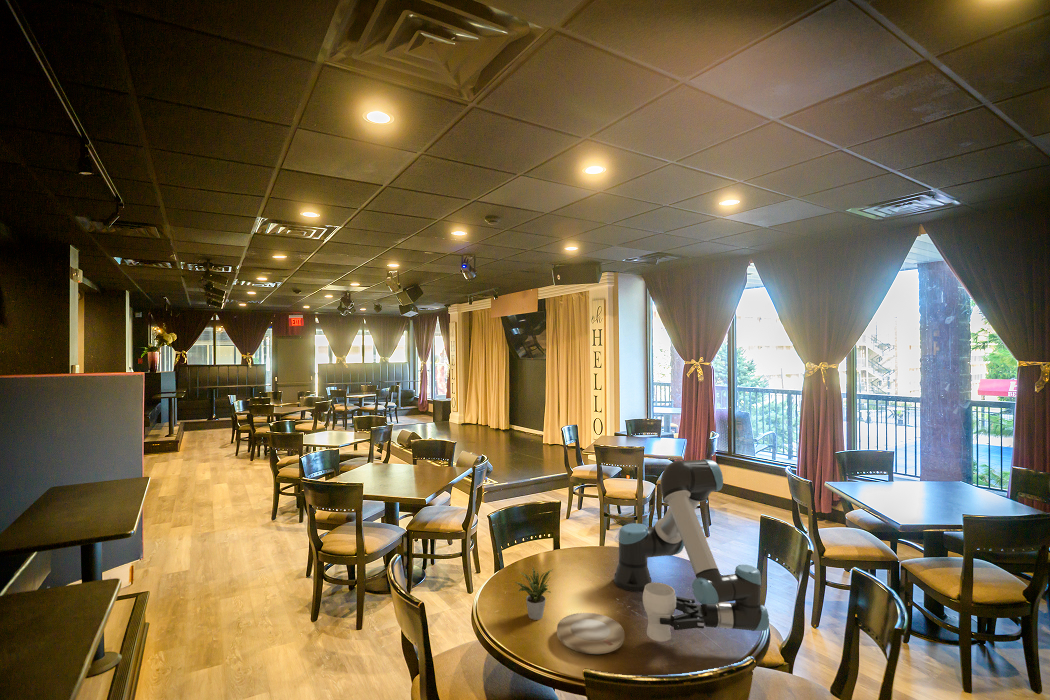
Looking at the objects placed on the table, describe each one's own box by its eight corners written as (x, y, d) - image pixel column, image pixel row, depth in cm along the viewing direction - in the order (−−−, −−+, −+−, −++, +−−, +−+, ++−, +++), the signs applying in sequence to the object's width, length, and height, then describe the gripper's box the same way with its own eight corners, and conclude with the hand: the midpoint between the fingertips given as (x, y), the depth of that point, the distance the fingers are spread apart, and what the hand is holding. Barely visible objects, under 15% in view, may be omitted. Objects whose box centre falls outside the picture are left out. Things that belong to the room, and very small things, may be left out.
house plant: (536, 600, 193) (537, 557, 193) (564, 614, 183) (564, 569, 183) (509, 613, 183) (510, 568, 183) (536, 629, 173) (537, 581, 173)
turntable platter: (544, 627, 170) (544, 623, 170) (594, 611, 181) (594, 606, 181) (584, 661, 151) (585, 656, 151) (638, 641, 163) (638, 636, 163)
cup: (677, 646, 158) (678, 598, 158) (642, 641, 161) (643, 594, 161) (674, 628, 169) (674, 583, 169) (641, 624, 171) (642, 580, 171)
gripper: (726, 646, 151) (651, 641, 154) (707, 608, 174) (641, 603, 177) (726, 621, 151) (651, 616, 154) (707, 586, 174) (642, 582, 177)
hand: (646, 609), depth 165 cm, fingers closed on cup, 10 cm apart
